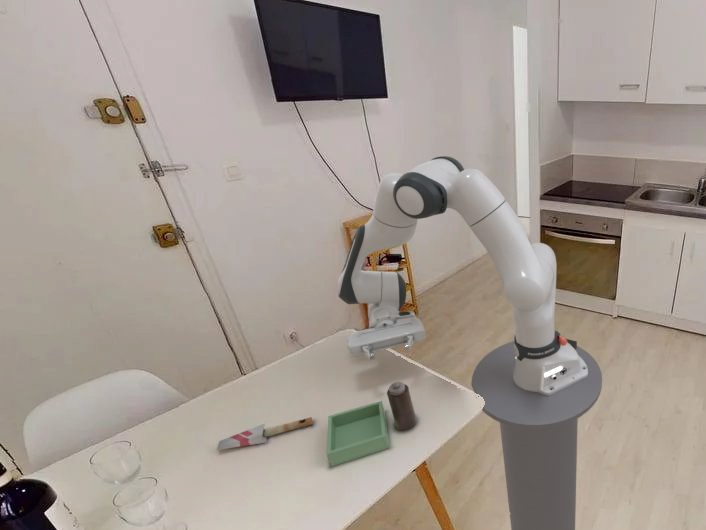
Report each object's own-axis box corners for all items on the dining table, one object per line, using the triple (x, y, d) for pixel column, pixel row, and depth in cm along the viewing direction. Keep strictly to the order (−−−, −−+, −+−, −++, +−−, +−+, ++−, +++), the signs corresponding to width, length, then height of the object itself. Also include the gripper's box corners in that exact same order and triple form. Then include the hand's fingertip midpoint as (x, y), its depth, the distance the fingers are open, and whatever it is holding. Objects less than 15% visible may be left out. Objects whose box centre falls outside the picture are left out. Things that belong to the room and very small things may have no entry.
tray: (385, 412, 107) (381, 400, 105) (389, 447, 97) (385, 435, 95) (332, 427, 103) (328, 416, 101) (331, 466, 93) (326, 454, 91)
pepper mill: (415, 413, 106) (405, 373, 100) (417, 426, 102) (407, 386, 96) (395, 419, 105) (383, 379, 98) (397, 433, 101) (385, 392, 94)
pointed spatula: (217, 435, 97) (311, 411, 105) (221, 443, 99) (313, 419, 106) (213, 447, 94) (310, 422, 102) (217, 455, 96) (312, 430, 103)
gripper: (344, 325, 114) (344, 353, 103) (419, 309, 121) (426, 334, 109) (349, 344, 117) (350, 373, 106) (422, 327, 124) (430, 353, 113)
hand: (390, 353), depth 108 cm, fingers open, 8 cm apart
